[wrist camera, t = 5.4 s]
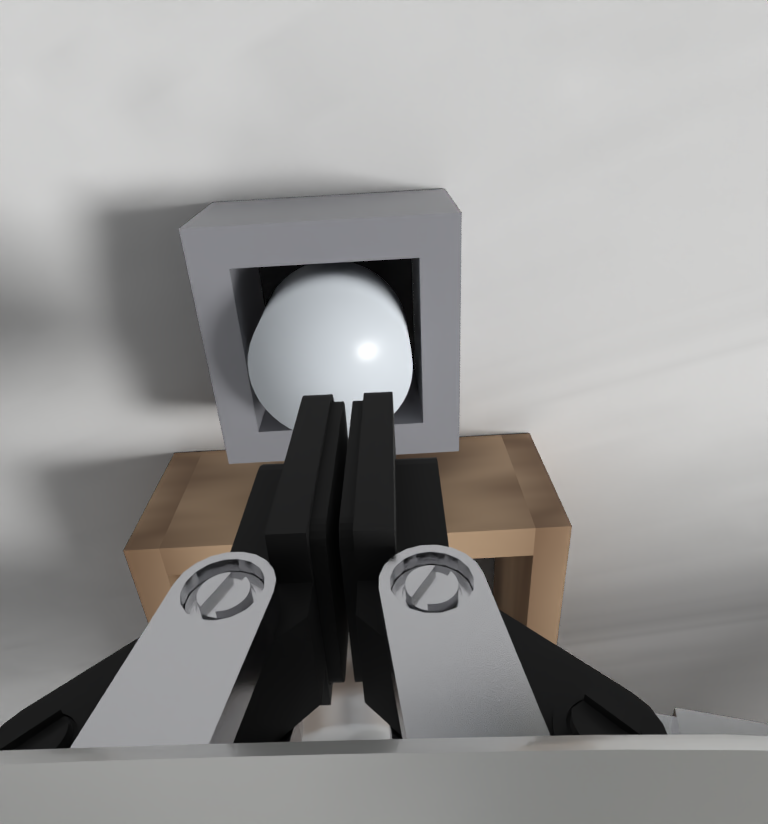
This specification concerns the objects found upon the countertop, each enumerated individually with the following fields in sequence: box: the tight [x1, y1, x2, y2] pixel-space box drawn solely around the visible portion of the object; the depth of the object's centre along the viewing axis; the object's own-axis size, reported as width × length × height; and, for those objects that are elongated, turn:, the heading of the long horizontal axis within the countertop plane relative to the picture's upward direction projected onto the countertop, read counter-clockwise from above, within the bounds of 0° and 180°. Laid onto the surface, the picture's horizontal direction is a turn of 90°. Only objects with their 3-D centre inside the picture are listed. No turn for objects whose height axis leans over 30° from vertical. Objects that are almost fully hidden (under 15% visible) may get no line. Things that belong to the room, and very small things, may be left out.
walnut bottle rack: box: [123, 433, 572, 645], centre depth 25 cm, size 12×24×5 cm, turn 3°
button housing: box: [179, 189, 462, 464], centre depth 17 cm, size 7×7×4 cm
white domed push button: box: [248, 262, 413, 437], centre depth 16 cm, size 4×4×2 cm
